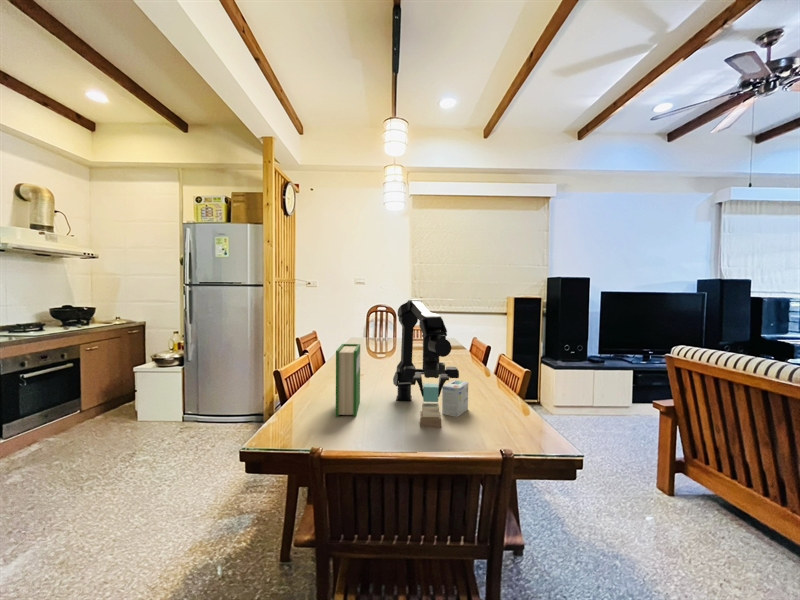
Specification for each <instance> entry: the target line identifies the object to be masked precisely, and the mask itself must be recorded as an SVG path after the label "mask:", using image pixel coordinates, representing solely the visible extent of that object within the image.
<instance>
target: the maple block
mask: <svg viewBox="0 0 800 600" xmlns="http://www.w3.org/2000/svg"><path fill="white" fill-rule="evenodd" d="M421 411H422V414H423V417H439V412H440V405H439V401H438V402H423V401H421Z"/></svg>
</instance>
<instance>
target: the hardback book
mask: <svg viewBox="0 0 800 600" xmlns="http://www.w3.org/2000/svg"><path fill="white" fill-rule="evenodd" d="M360 403H361V344H360V343H342V344H341V345H340V346H339V347H338V348H337V349H336V350H335V418H339V417H340V416H341V415H343V416H345V415H346V416H348V415H349V416H353V418H357V417H358V416H357V415H358V411H359V407H360Z"/></svg>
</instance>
